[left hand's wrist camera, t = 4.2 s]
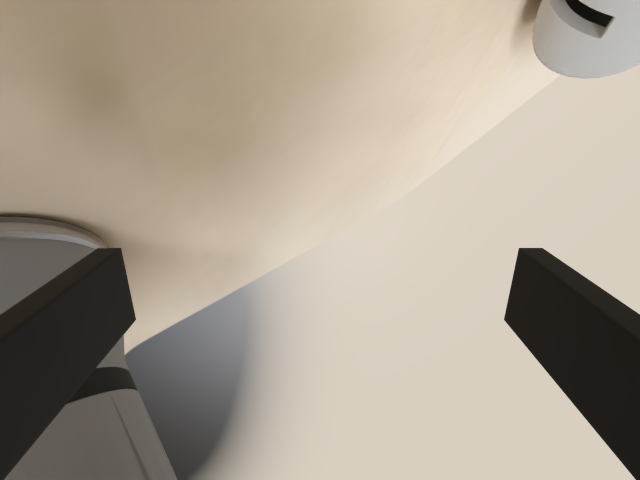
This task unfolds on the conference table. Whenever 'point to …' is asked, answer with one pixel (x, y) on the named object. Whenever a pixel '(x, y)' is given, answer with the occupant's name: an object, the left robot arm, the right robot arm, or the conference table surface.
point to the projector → (588, 36)
